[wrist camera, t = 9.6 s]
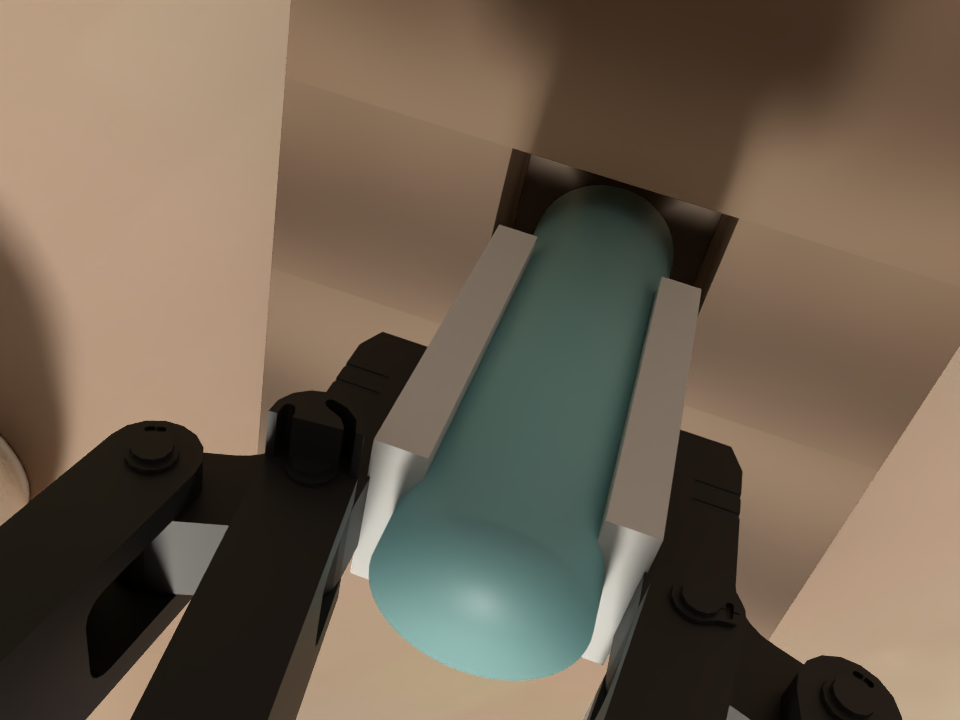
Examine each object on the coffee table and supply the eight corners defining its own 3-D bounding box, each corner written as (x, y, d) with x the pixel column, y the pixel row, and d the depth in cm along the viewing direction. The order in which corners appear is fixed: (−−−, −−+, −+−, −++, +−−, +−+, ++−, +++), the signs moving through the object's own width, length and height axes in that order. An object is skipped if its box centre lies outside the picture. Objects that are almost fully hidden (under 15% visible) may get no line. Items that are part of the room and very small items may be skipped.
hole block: (392, -404, 16) (322, -429, 13) (1218, -197, 14) (1304, -184, 12) (299, 435, 28) (254, 501, 25) (747, 593, 26) (743, 678, 24)
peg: (550, 168, 19) (380, 485, 11) (691, 208, 19) (621, 564, 11) (522, 289, 21) (359, 635, 13) (651, 326, 20) (564, 707, 12)
